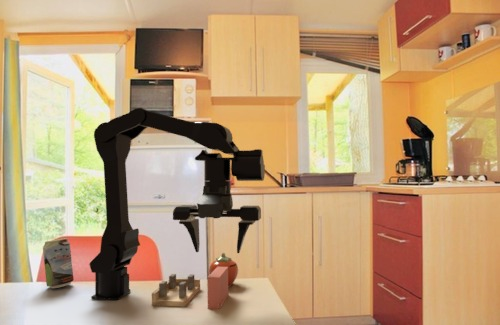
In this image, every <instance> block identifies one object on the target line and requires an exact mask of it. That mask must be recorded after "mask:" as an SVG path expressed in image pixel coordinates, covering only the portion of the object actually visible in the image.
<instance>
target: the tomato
mask: <svg viewBox="0 0 500 325" xmlns="http://www.w3.org/2000/svg"><path fill="white" fill-rule="evenodd" d="M217 267H228V286H229V287H231V286H232V285H233V284H234V283H235V281H236V279H237V277H238V274H239V266H238V264H237V263H236V261H234V260H232V258H231V257H229V256H226V253H224V252H222V253H221V255H220V256H219V257H216V258H215V260H213V261H212V262H211V263H210V265H209V267H208V276H209V275H210V274H211V273H212V272H213V271H214V270H215V269H216V268H217ZM230 285H231V286H230Z"/></svg>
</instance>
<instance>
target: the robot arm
mask: <svg viewBox="0 0 500 325" xmlns="http://www.w3.org/2000/svg"><path fill="white" fill-rule="evenodd" d="M147 128H151V129H155V130H158V131H162V132H166V133H170V134H173V135H177V136H181V137H183V138H187V139H189V140H191V141H192V142H195V143H196V144H198V145H200V146H202V147H205V148H206V149H210V150H212V151H218V152H214V153H213V152H208V151H207V150H204V149H202V150H201V151H200V153H199V154H198V155H196V156H195V158H194V160H195V161H199V162H204V186H203V189H202V191H203V192H202V194H201V196H200V197H199V198H198V200H197V201H196V204H197V205H191V204H190V205H186V204H184V205H183V204H182V205H179V206H178V205H177V206H175V207H174V208H173V211H172V220H174V221H178V223H179V224H180V225H183V226H184V227H185V228H186V230H187V232H188V234H189V237H190V239H191V242H192V244H193V248H194V250H195V253H199V252H200V244H201V243H200V220H199V219H205V218H213V219H219V218H240V219H241V220H240V221H238V224H237V225H238V230H237V231H238V232H237V243H236V253H237V254H240V252H241V251H242V250H241V249H242V246H243V243H244V241H245V237H246V234H247V232H248V230H249V227H250V226H251V225H254V224H255V223H256V222H257V221H260V220H261V219H262V208H261V207H260V206H259V205H242V206H240V207H239V208H233V205H234V204H233V196H232V193H231V189H232V185H231V175H232V177H235V178H236V181H238V182H257V181H259V182H260V181H261V182H263V181H264V180H265V174H266V166H265V161H264V156H263V150H262V149H261V148H258V149H252V150H240V149H239V146H237V145H236V144H235V142H234V141H233V134H232V132H231V130H230V129H229V128H228V127H226V126H224V125H222V124H220V123H217V122H210V121H209V122H208V121H207V122H205V121H189V120H185V119H182V118H177V117H174V116H170V115H166V114H163V113H158V112H154V111H150V110H148V109H146V108H143V107H137V108H134V109H132V110H130V111H129V112H128V113H125V114H122V115H119V116H117V117H115V118H112V119H111V120H110V121H108V122H107V121H105V122H102V123H101V124H98V126H97V127H96V128H95V129H94V131H93V138H94V143H95V148H96V151H97V153H98V155H99V157H100V159H101V160H102V162H103V172H104V173H103V174H104V175H103V176H104V194H105V195H104V196H105V197H104V198H105V210H106V211H105V212H106V213H105V214H106V226H105V227H104V231H103V234H102V235H101V240H100V241H101V242H100V250H99V251H100V252H99V253H98V254H97V255H96V256H95V257H94V258H93V259H92V260H91V261H90V262H89V264H88V265H89V267H90V270H91V273H94V275H95V280H94V281H95V286H94V288H95V293H94V294H93V295H92V296H90V297H91V298H90V299H92V300H111V301H115V300H116V301H117V300H120V299H122V298H123V297H124V296H126V295H127V294H129V293H130V292H131V289H130V274H129V273H128V267H127V266H129V265H131V261H132V259H133V258H134V256H135V255H136V254H137V252H138V249H139V246H141V243H140V241H139V233H140V230H139V228H133V227H132V225H131V223H130V221H129V218H130V217H129V203H128V186H127V185H128V184H127V169H126V168H127V166H126V161H127V159H128V157H129V154H130V151H131V144H132V141H133V140H135V139H136V138H138V137H139V136H140V135H141V134H142V133H143V132H144V131H145V129H147ZM220 152H222V153H223V154H226V155H230V156H233V157H223V155H222V153H220Z"/></svg>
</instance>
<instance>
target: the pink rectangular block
mask: <svg viewBox="0 0 500 325" xmlns="http://www.w3.org/2000/svg"><path fill="white" fill-rule="evenodd" d="M206 278H207V279H206V281H207V284H206V286H207V309H208V310H210V309H212V310H213V309H214V310H220V309H221V308H222V306H223V305H224V302H225V301H226V299H227V298H228V296H229V287H228V267H217V268H216V269H215V270H214V271H213V272H212V273H211V274H210V275H209V274H208V276H207V277H206Z"/></svg>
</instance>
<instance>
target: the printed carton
mask: <svg viewBox="0 0 500 325" xmlns="http://www.w3.org/2000/svg"><path fill="white" fill-rule="evenodd" d="M42 253H43V265H44V270H45V271H44V272H45V281H46V287H49V288H50V289H57V288H62V287H66V286H68V285H69V286H70V285H71V284H72V283H73V282H74V271H73V270H74V269H73V262H72V254H71V253H72V251H71V244H70V241H69V240H68V239H67V237H64V238H58V239H57V238H56V239H53V240H52V239H51V240H47V241H45V242H44V245H43V246H42Z"/></svg>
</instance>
